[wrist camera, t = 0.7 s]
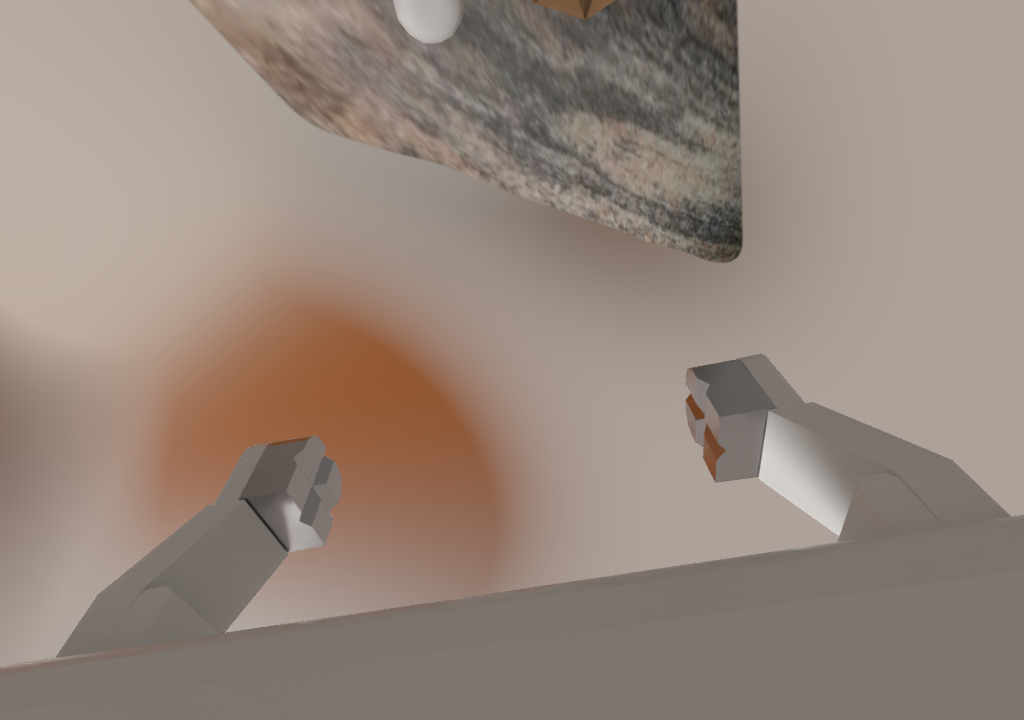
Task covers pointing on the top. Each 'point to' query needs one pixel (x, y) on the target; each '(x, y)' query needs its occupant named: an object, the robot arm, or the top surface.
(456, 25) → the salt shaker
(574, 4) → the walnut ring
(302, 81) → the top surface
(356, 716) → the robot arm
